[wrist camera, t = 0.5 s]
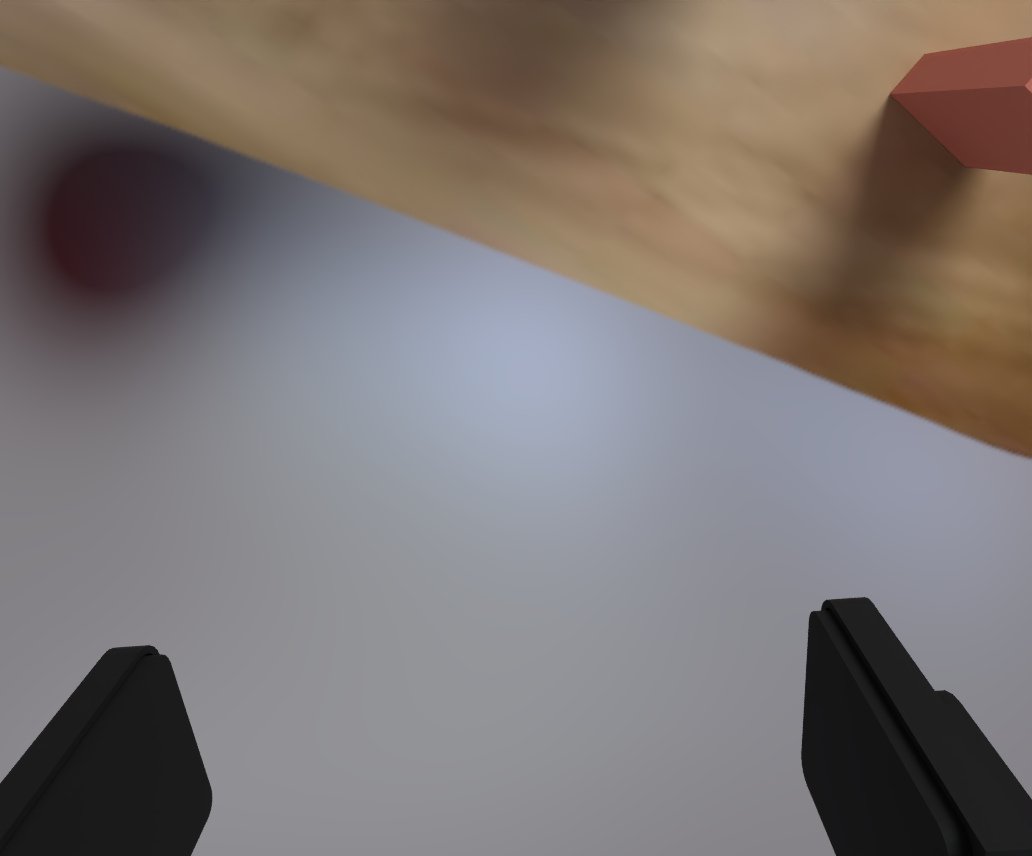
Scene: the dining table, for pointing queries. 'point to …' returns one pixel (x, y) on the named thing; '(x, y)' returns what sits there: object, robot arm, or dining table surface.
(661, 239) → the dining table surface
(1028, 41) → the red domino
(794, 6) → the dining table surface
